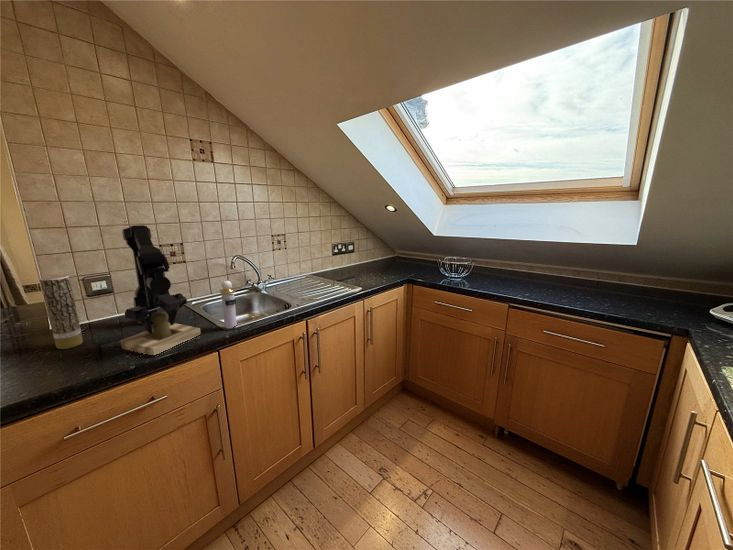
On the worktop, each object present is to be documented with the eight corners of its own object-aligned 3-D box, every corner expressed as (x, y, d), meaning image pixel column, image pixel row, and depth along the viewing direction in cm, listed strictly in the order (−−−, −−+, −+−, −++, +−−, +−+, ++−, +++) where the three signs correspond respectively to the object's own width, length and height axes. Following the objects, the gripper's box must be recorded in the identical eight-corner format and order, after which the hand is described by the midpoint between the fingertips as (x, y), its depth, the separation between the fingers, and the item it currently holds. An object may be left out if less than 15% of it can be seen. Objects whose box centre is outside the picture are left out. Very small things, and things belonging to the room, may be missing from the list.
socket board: (121, 348, 102) (120, 340, 102) (170, 329, 119) (169, 322, 118) (154, 356, 97) (152, 348, 97) (200, 335, 114) (200, 328, 113)
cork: (177, 339, 110) (173, 311, 108) (162, 346, 105) (157, 317, 102) (164, 337, 112) (160, 309, 109) (149, 344, 106) (144, 315, 104)
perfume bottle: (220, 327, 121) (215, 280, 117) (234, 324, 125) (230, 278, 121) (227, 331, 117) (222, 283, 113) (241, 327, 122) (237, 280, 117)
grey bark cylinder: (88, 341, 108) (74, 274, 102) (71, 350, 101) (55, 279, 95) (69, 341, 107) (54, 274, 102) (50, 350, 101) (33, 278, 95)
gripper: (143, 297, 92) (151, 343, 96) (195, 283, 109) (200, 323, 113) (120, 293, 96) (127, 337, 99) (173, 280, 113) (179, 318, 117)
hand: (161, 328), depth 107 cm, fingers open, 8 cm apart
